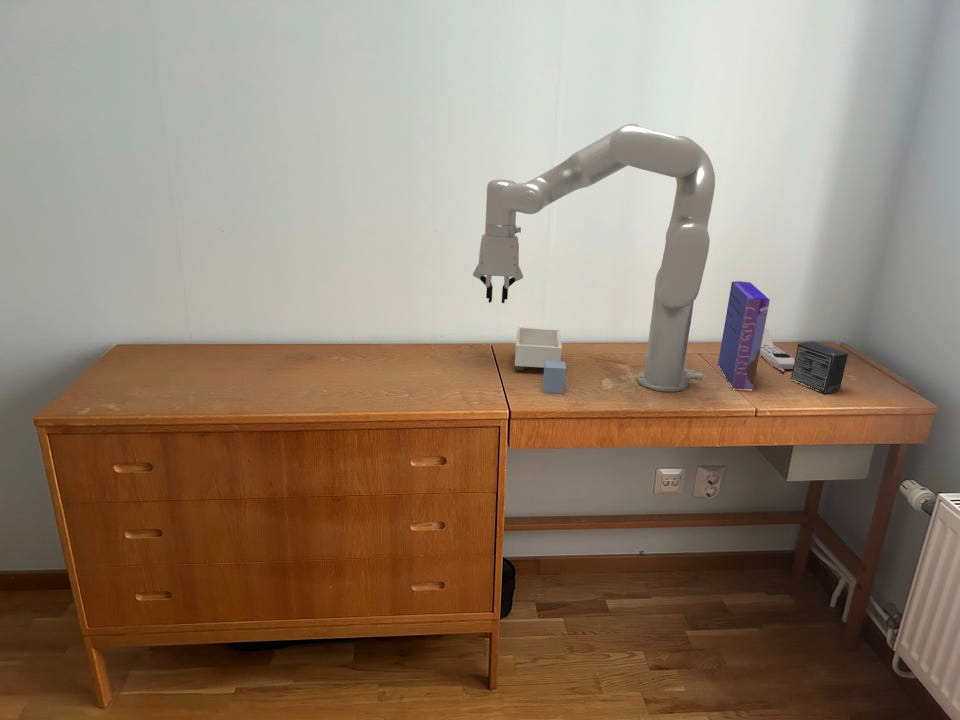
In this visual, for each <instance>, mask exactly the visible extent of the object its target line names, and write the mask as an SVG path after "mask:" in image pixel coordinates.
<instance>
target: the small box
mask: <svg viewBox="0 0 960 720" xmlns="http://www.w3.org/2000/svg"><path fill="white" fill-rule="evenodd" d="M848 357H849V353H848V352H846V351H844V350H840V349H837V348H835V347H831V346H829V345H826V344H822V343H818V342H816V341H814V340H813V341H808V342H807V341H806V342H799V343H797V348H796V353H795V358H794V360H795V362H794V367H793V370H792V373H791V376H790V380H791V379H793V380H796V381H798V382H800V383H803V384H805V385H807V386H810V387H812V388H814V389H817V390H819V391H821V392H823V393H826V394H825V395H827V393H828V394H831V393H830V392H832V393H835V392H834V391H837V392H839V391H838V390H840V389H841V386H842V381H843V378H844V373H845V369H846V364H847V362H848ZM840 391H841V390H840ZM823 393H822V394H823Z"/></svg>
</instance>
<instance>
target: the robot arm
mask: <svg viewBox="0 0 960 720" xmlns="http://www.w3.org/2000/svg"><path fill="white" fill-rule="evenodd" d="M628 166H629V167H632V168H636V169H640V170H643V171H647V172H651V173H656V174H659V175H663V176H665V177H666V176H667V177H670V178H674V179H675V180H676V182H675V183H676V189H675V190H676V191H675V194H674V201H673V207H672V212H671V217H670V221H669V223H668V224H669V225H668V227H667V230H666V231H665V244H664V250H663V255H662V260H661V263H660V268H658V270H657V273H656V277H655V281H654V292H653V293H654V294H653V301H652V302H653V304H652V310H651V316H650V317H651V318H650V319H651V320H650V325H649V333H648V340H647V341H648V342H647V349H646V356H645V364H644V370H643V371H640V372H639V373H638V374H637V376H636V378H637V382H638V383H639V385H641V386H643V387H645V388H648V389H651V390H653V391H659V392H668V393H670V392H681V391H684V390H686V389H687V388H688V386H689V381H690V380H695V381H702V380H703V372H696V370H695V369H686V367H685V364H686V357H687V352H688V351H687V350H688V343H689V337H690V330H691V323H692V318H693V317H692V316H693V310H694V304H695V303H694V301H696V299H697V298H698V295H699V293H700V290H701V285H702V280H703V277H704V273H705V268H706V263H707V261H708V260H707V259H708V254H709V250H710V241H711V240H710V234H709V231H708V228H709V227H708V226H709V220H710V216H711V211H712V208H713V206H712V205H713V201H714V194H715V189H716V188H715V187H716V176H715V171H714V169H715V168H714V167H713V163H712V160H711V158H710V157H709V155H708V154H707V152H706V151H705V150H704V149H703V148H702V147H701V146H700V145H699V144H698V143H697V142H695V141H694V140H693V139H691V138H689V137H687V136H684V135H683V136H682V135H672V134H668V133H664V132H659V131H656V130H653V129H649V128H646V127H642V126H641V125H638V124H636V123H627V124H624V125H622V126H620V127H619V128H617V129H614V130H613V131H611V132H610V133H608V134H607V135H604V136H603V137H601V138H598V139H597V140H595V141H593V142H592V143H590V144H588V145H587V146H585V147H582V148H580V150H578V151H576V152H574V153H572V154H571V155H570V156H569V157H568V158H566V159H565V160H564V161H562V162H561V163H559V164H557V165H556V166H554V167H552V168H550V169H548V170H547V171H545V172H543V173H542V174H539V175H538V176H536V177H534V178H532V179H530V180H528V181H526V182H523V183H522V182H521V183H519V182H517V183H516V182H515V181H514V180H510V179H492V180H490V181H489V182H488V183H487V187H486V200H485V201H486V205H485V227H484V229H485V231H484V234H482V236H481V240H480V243H479V244H480V246H479V252H478V263H477V266H476V268H475V269H474V270H473V273H472V276H473V277H475V278H476V279H478V280H480V281H481V282H482V283H483V285H484V286H485V287H486V292H485V293H486V294H485V295H486V296H485V297H486V299H488V303H489V304H490V303H492V302H493V285H492V284H493V283H492V277H504V279H503V280H504V281H503V286H502V290H501V304H505V302H506V300H508V296H509V294H508V293H509V292H508V291H509V288H510V287H511V286H512V285H513V284H514V283H515V282H518V281H521V280H522V279H523V278H524V275H523V273H522V270H521V267H520V266H519V264H520V254H519V253H520V247H519V246H520V243H519V237H518V235H517V234H519V233H521V231H522V227H521V226H517V225H516V224H517V223H516V220H517V212H518V213H522V214H525V215H534V214H537V213H539V212H541V211H542V210H543V209H544V208H546V207H547V206H549V205H551V204H552V203H554V202H556V201H557V200H559V199H562V198H563V197H565V196H567V195H569V194H571V193H573V192H575V191H577V190H580V189H584V188H588V187H590V186H592V185H594V184H597V183H599V182H600V181H602V180H603V179H606V178H607V177H609V176H611V175H612V174H615V173H617V172H618V171H621V170H623V169H624V168H626V167H628Z"/></svg>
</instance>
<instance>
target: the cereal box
mask: <svg viewBox="0 0 960 720" xmlns="http://www.w3.org/2000/svg"><path fill="white" fill-rule="evenodd" d="M770 302H771V299H770V298H769V297H767V295H765V294H764V293H763V292H762V291H761V290H760V289H758V288H757V287H756V286H755V285H754V284H753V283H752V282H750V281H742V280H737V281H731V284H730V291H729V297H728V301H727V308H726V314H725V320H724V326H723V332H722V333H723V334H722V338H721V343H720V344H721V345H720V350H719V355H718V363H717V364H718V365H719V366H720V368H721V369H722V371H723V373H724V374H725V376H726V378H727V379H728V381H729V382H730V383H731V385H732V387H733V388H735V389H753V390H754V386H755V382H756V381H755V380H756V374H757V370H758V364H759V360H760V356H759V355H760V349H761V344H762V339H763V333H764V328H765V327H766V323H767V317H768V312H769V306H770ZM718 365H717V366H718ZM723 373H722V374H723ZM726 378H725V379H726ZM728 381H727V382H728ZM732 387H731V388H732Z"/></svg>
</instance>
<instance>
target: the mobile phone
mask: <svg viewBox="0 0 960 720" xmlns="http://www.w3.org/2000/svg"><path fill="white" fill-rule="evenodd" d="M765 327H766V328H764V333H763V339H762V344H761V349H760V354H762V355H763V356H764V357H765V358H766V359H767V360H769V361H770V362H771V363H772V364H773V365H775V366H776V367H777V368H779V369H781V370H782V371H785V372H786V370H784V369H793V367H794V362H795V358H793V356H792V355H790V354H789V353H786V352H785V351H783V350H782V349H780V348H778V347H777V346H776V345H774V343H773V340H772V336H771V334H770V331H769V329H768V328H767V326H765Z"/></svg>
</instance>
